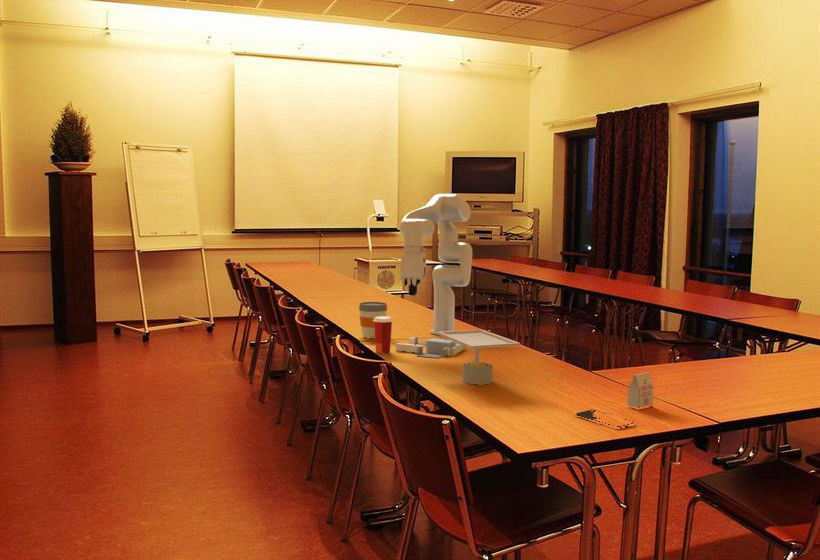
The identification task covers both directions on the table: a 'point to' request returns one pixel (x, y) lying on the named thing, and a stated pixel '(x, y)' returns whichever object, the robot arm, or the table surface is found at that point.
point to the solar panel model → (477, 352)
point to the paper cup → (382, 333)
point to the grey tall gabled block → (640, 391)
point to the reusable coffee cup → (370, 316)
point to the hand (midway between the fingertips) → (412, 295)
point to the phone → (589, 416)
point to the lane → (419, 350)
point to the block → (438, 345)
